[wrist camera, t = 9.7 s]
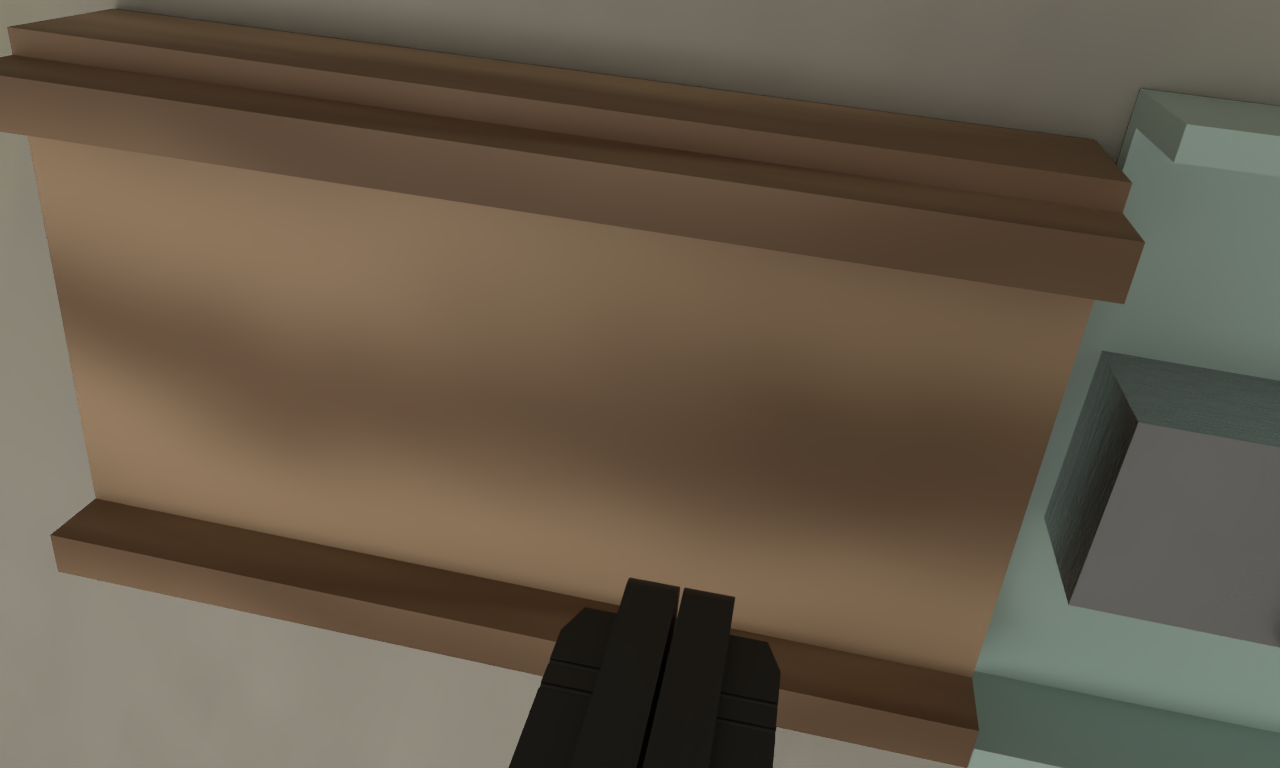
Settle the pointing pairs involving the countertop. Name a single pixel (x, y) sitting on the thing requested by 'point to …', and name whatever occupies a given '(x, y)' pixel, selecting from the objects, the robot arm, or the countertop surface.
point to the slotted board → (558, 349)
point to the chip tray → (1144, 327)
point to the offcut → (1173, 499)
